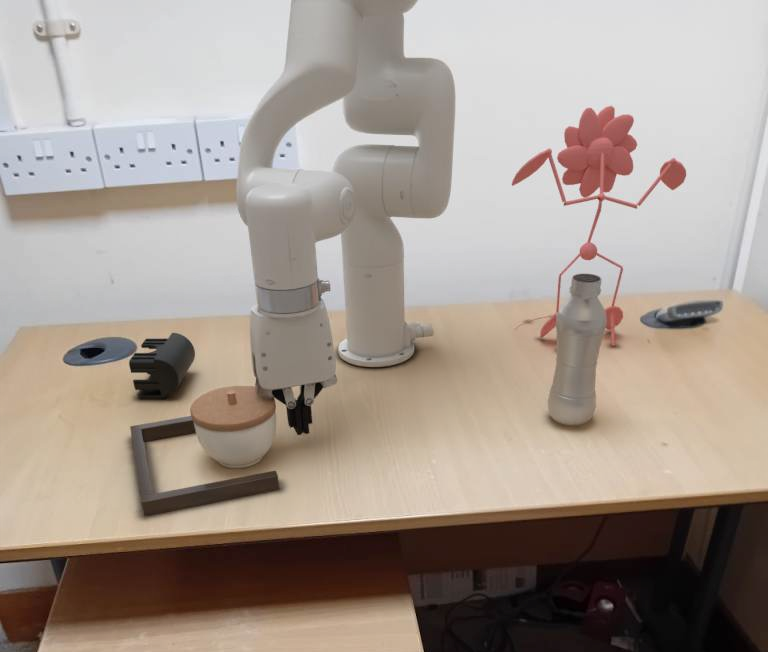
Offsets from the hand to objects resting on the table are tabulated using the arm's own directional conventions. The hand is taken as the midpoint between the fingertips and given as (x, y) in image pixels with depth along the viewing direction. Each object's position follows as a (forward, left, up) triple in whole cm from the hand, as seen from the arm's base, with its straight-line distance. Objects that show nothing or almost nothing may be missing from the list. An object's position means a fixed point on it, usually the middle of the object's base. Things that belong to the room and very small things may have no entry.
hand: (300, 429), depth 105 cm
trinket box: (+8, 0, -3) cm, 9 cm away
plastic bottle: (-37, +7, -3) cm, 37 cm away
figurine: (-53, -20, -3) cm, 57 cm away
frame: (+13, 0, -2) cm, 14 cm away
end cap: (+15, -25, -3) cm, 30 cm away
